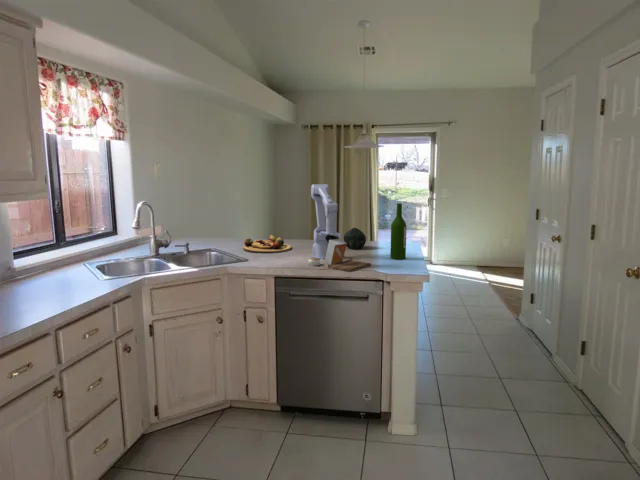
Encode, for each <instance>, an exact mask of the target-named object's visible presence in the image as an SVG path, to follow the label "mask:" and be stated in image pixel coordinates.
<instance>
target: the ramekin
mask: <svg viewBox="0 0 640 480" xmlns="http://www.w3.org/2000/svg"><path fill="white" fill-rule="evenodd" d="M320 260H321V259H320V258H314V257H310V258H308V260H307V265H308V266H310V267H318V266H321V265H320V264H321V263H320V262H321V261H320Z"/></svg>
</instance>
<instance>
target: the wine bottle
mask: <svg viewBox="0 0 640 480" xmlns="http://www.w3.org/2000/svg"><path fill="white" fill-rule="evenodd" d="M395 212H396V216H395V218H394V219H393V221H392V223H391V226H390V256H389V257H390V260H391V259H392V260H397V261H402V260H405V259H406V255H407V251H406V250H407V223H406V221H405V220H404V218H403V215H402V214H403V203H396V211H395Z"/></svg>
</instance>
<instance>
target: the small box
mask: <svg viewBox="0 0 640 480" xmlns="http://www.w3.org/2000/svg"><path fill="white" fill-rule="evenodd" d="M346 245H347V243H345V242H344V239H342V238H337V239H333V240H329V243H328V248H327V252H326V257H325V259H324V261H325V262H326V263H327V264H328V265H331V264H335V263H339V262H343V261H344V257H345V253H346V248H347V247H346Z"/></svg>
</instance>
